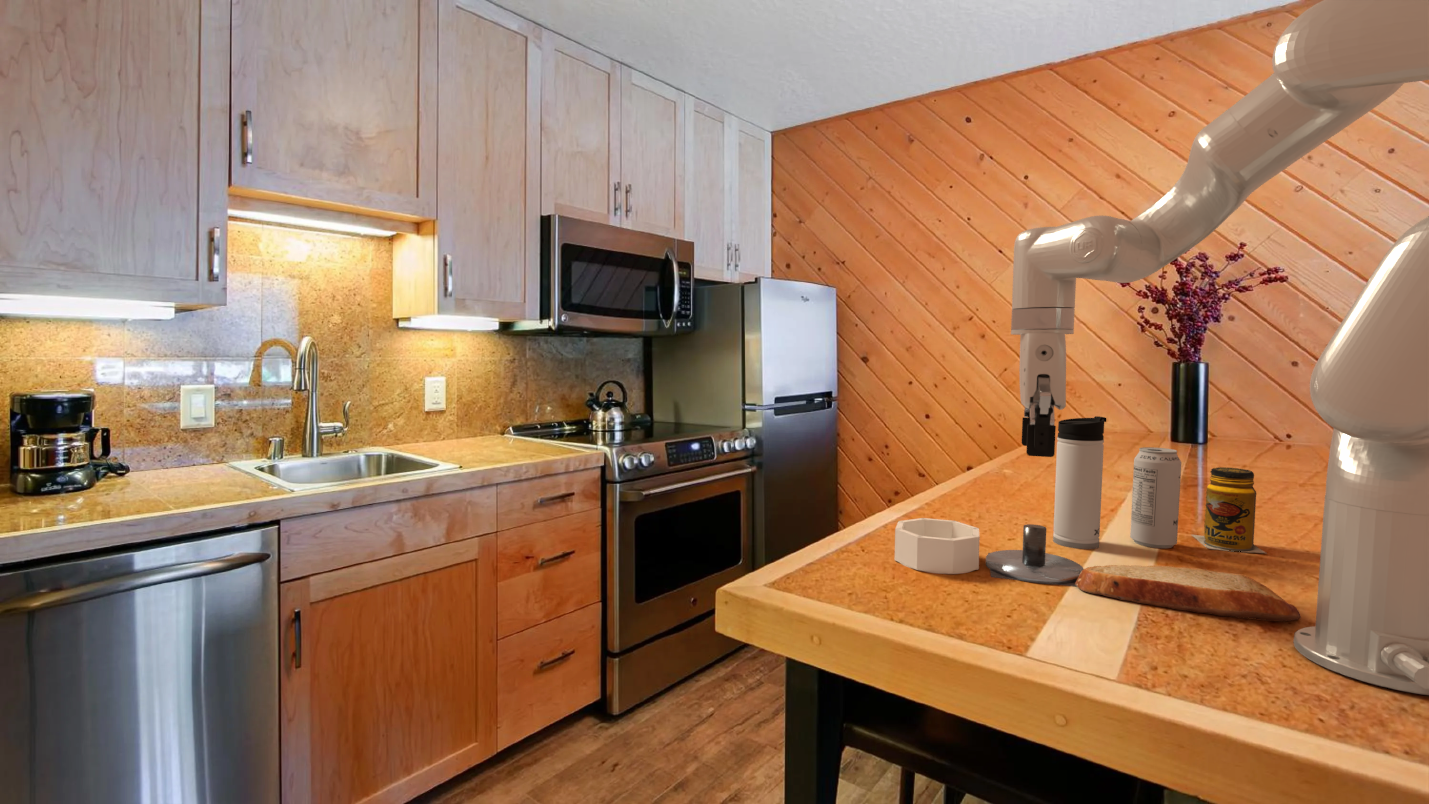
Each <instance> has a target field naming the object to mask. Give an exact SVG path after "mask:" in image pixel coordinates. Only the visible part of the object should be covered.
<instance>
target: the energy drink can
mask: <svg viewBox="0 0 1429 804" xmlns="http://www.w3.org/2000/svg"><path fill="white" fill-rule="evenodd" d="M1138 450H1139V451H1138V453H1137V454H1136V456H1135V457H1134V460H1133V472H1132V473H1133V474H1132V475H1133V476H1132V494H1131V497H1132V498H1131V513H1130V515H1131V517H1130V536H1129V537H1130V539H1131V540H1133V542H1134V543H1135V544H1137V545H1140V546H1143V547H1149V548H1155V549H1171V548H1173V547H1174V546H1175V545H1177V544H1178V532H1179V531H1178V530H1179V528H1178V527H1179V515H1180V514H1179V513H1180V512H1179V511H1180V495H1181V477H1182V461H1181V459H1180V457H1179V456H1178V450H1176V449H1173V448H1172V449H1171V448H1165V447H1150V446H1149V447H1145V446H1143V447H1140V448H1139V449H1138Z"/></svg>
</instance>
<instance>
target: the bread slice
mask: <svg viewBox="0 0 1429 804" xmlns="http://www.w3.org/2000/svg"><path fill="white" fill-rule="evenodd" d="M1075 585H1077V587H1076V588H1078V589H1079V590H1080V591H1082V592H1085V593H1089V594H1093V595H1100V596H1104V597H1107V598H1112V599H1118V600H1120V601H1126V602H1132V603H1137V604H1141V605H1142V604H1143V605H1144V604H1145V605H1151V606H1155V607H1159V608H1160V607H1161V608H1166V609H1167V608H1168V609H1173V610H1178V611H1186V612H1192V613H1198V614H1209V615H1213V616H1218V617H1231V618H1237V619H1241V620H1242V619H1243V620H1246V619H1247V620H1248V619H1251V620H1257V621H1267V622H1289V621H1298V620H1301V618H1302V617H1301V613H1300V611H1299V609H1298V608H1297V607H1296V606H1295V605H1294V604H1292V603H1289V602H1287V601H1286V600H1285V599H1284V598H1282V597H1281V596H1280V595H1278V594H1277V593H1275V592H1274V591H1273V590H1272V589H1270V588H1269V587H1267V586H1266V585H1264V584H1262V583H1261V582H1259V581H1257V580H1255V579H1254V578H1251V577H1250V576H1248V575H1245V574H1241V573H1232V572H1230V573H1229V572H1223V571H1214V570H1208V569H1204V568H1200V567H1199V568H1197V567H1195V568H1192V567H1191V568H1190V567H1175V566H1168V565H1129V564H1127V565H1126V564H1123V565H1122V564H1121V565H1120V564H1117V565H1116V564H1109V565H1094V566H1089V567H1086V568H1083V570H1082V571H1081V573H1080V575H1079V577H1078V579H1077V581H1076V583H1075Z"/></svg>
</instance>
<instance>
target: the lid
mask: <svg viewBox="0 0 1429 804" xmlns="http://www.w3.org/2000/svg"><path fill="white" fill-rule="evenodd" d="M1022 531H1023V532H1022V549H1005V550H1003V549H1002V550H995V551H992V552H989V553H990V554H986V556H985V566H986V568H988V569H989V571H990V570H992V571H994V572H996V573H998V574H1000V575H1003V576H1006V577H1009V578H1013V579H1017V580H1016V581H1020V582H1021V581H1022V582H1026V583H1034V584H1042V585H1043V584H1044V585H1057V584H1068V583H1074V582H1076V581H1077V579H1078V577H1079V575H1080V573H1081V571H1082V570H1083V569H1084V567H1083V566H1082V565H1081V564H1080V563H1078V562H1076V561H1074V560H1072V559H1069V558H1067V557H1063V556H1059V555H1057V554H1053V553H1047V552H1046V550H1047V549H1046V548H1047V546H1046V543H1047V527H1046V526H1045V525H1044V526H1043V525H1040V524H1033V523H1031V524H1030V523H1029V524H1024V525H1023V529H1022Z"/></svg>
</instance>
